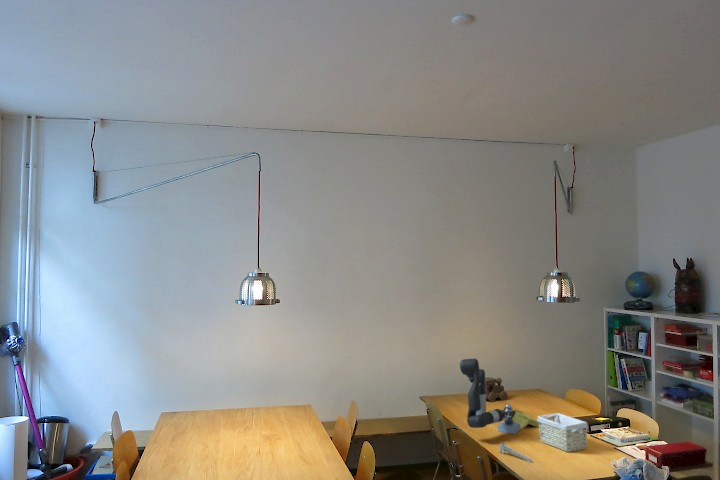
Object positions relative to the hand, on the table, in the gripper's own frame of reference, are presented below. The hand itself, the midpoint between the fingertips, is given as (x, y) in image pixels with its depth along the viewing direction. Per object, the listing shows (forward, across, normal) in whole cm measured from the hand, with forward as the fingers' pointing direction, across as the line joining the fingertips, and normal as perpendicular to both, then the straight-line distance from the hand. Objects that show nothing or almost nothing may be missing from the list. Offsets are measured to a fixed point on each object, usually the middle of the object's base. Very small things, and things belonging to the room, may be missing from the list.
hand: (510, 411), depth 333 cm
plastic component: (+17, +2, +12) cm, 21 cm away
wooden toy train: (+55, +56, +11) cm, 79 cm away
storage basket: (-3, -37, +12) cm, 39 cm away
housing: (-3, 0, +6) cm, 7 cm away
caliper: (-39, -31, +12) cm, 51 cm away
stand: (-2, 0, +11) cm, 11 cm away
